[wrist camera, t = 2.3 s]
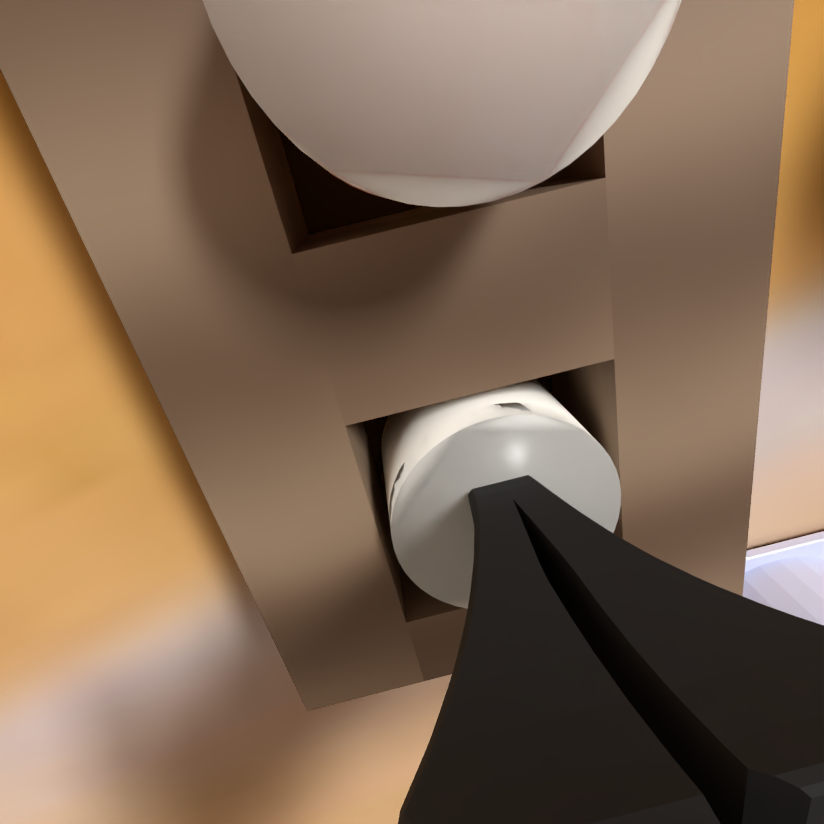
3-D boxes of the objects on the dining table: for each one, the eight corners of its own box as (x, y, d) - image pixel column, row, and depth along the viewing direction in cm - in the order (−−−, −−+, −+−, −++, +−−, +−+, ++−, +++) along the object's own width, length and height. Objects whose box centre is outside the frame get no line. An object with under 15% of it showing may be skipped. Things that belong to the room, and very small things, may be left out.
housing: (658, 512, 17) (741, 599, 13) (316, 598, 17) (307, 710, 13) (651, -324, 9) (850, -661, 5) (2, -174, 9) (-232, -419, 5)
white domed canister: (566, 496, 15) (625, 579, 12) (403, 537, 15) (418, 632, 12) (550, 338, 13) (615, 387, 10) (361, 385, 13) (364, 450, 10)
